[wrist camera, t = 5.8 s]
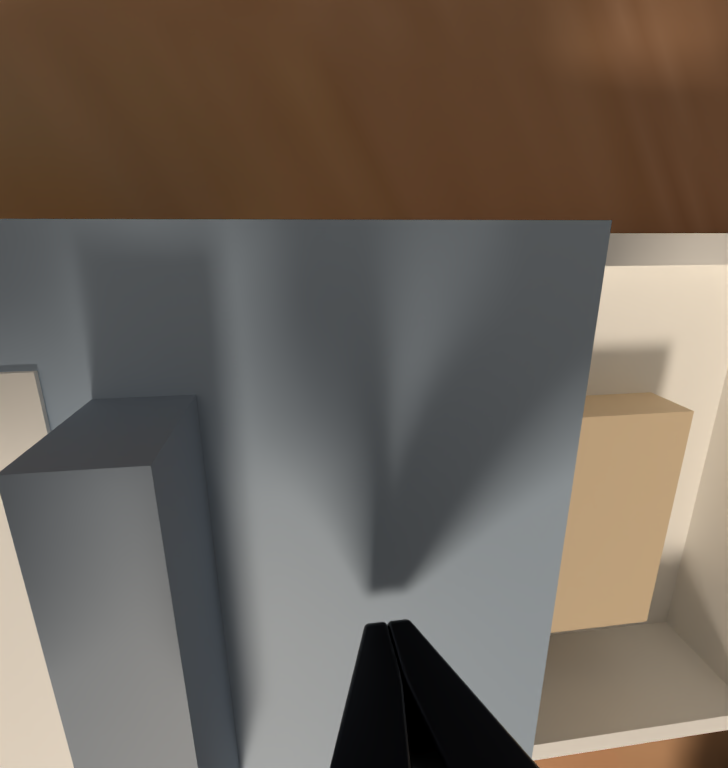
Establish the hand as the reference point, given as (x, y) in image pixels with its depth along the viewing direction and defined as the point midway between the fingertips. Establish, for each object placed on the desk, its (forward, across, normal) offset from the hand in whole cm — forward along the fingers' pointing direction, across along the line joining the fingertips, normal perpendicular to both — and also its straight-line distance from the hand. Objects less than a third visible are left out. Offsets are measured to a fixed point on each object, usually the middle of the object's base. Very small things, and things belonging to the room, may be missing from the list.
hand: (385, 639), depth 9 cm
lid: (+2, +4, 0) cm, 4 cm away
